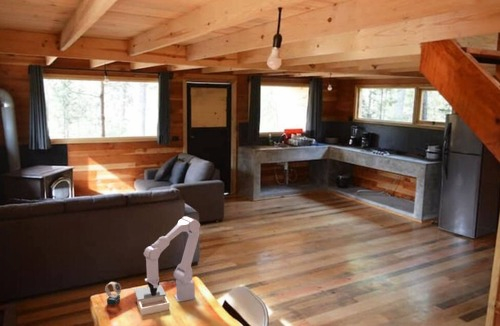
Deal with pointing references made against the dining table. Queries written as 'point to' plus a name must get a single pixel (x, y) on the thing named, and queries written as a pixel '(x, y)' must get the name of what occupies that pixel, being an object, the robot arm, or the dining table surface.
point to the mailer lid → (148, 293)
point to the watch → (113, 298)
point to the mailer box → (153, 305)
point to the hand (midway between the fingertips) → (153, 295)
